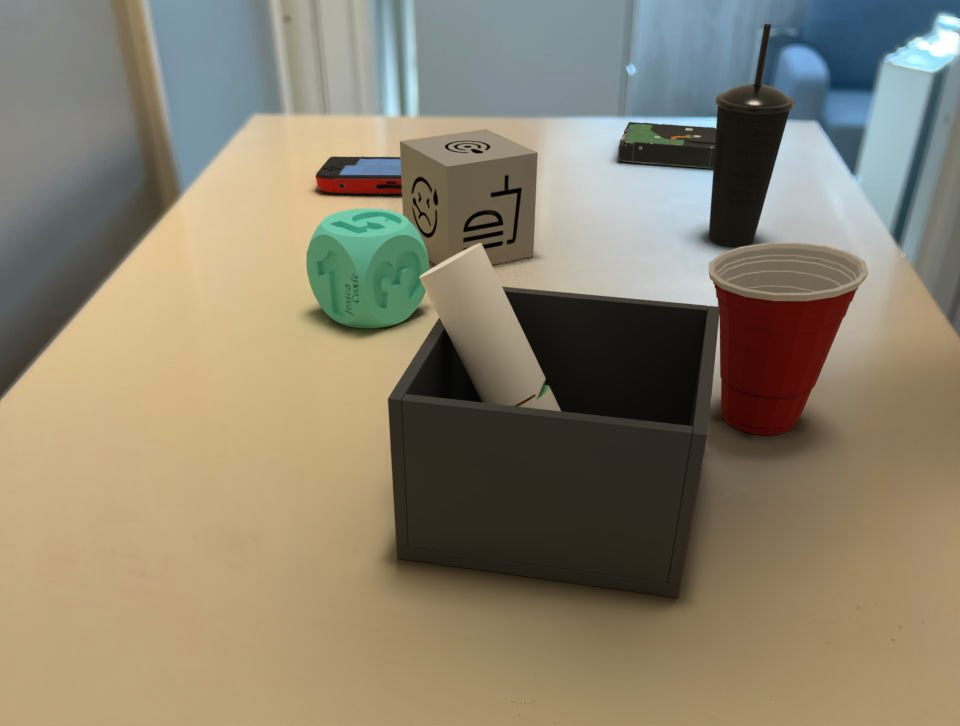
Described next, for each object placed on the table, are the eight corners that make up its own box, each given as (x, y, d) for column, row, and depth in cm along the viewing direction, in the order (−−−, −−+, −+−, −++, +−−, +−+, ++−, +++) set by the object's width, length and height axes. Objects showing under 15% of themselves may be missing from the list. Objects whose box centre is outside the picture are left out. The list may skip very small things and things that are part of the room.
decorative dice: (309, 311, 91) (300, 221, 86) (375, 288, 96) (370, 201, 91) (365, 337, 87) (359, 244, 82) (432, 311, 92) (429, 222, 86)
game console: (442, 167, 127) (441, 148, 125) (434, 198, 117) (434, 178, 116) (330, 164, 127) (328, 146, 126) (313, 195, 118) (311, 175, 116)
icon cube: (533, 256, 103) (537, 152, 96) (448, 273, 99) (447, 166, 92) (485, 228, 109) (486, 128, 103) (404, 243, 105) (399, 141, 99)
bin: (695, 453, 72) (720, 306, 65) (678, 598, 59) (707, 434, 52) (461, 426, 75) (460, 282, 68) (396, 558, 62) (387, 398, 55)
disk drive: (734, 151, 134) (625, 142, 136) (738, 128, 132) (627, 119, 135) (732, 172, 126) (616, 162, 129) (736, 149, 125) (619, 139, 127)
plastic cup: (700, 376, 82) (725, 227, 74) (835, 399, 79) (875, 246, 71) (670, 436, 74) (694, 276, 66) (818, 464, 71) (861, 301, 63)
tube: (547, 491, 64) (437, 270, 58) (515, 489, 67) (408, 282, 62) (596, 456, 65) (493, 237, 59) (561, 457, 69) (461, 250, 63)
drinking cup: (752, 256, 103) (794, 35, 90) (684, 242, 106) (715, 26, 93) (777, 235, 108) (819, 22, 95) (711, 223, 111) (743, 14, 98)
